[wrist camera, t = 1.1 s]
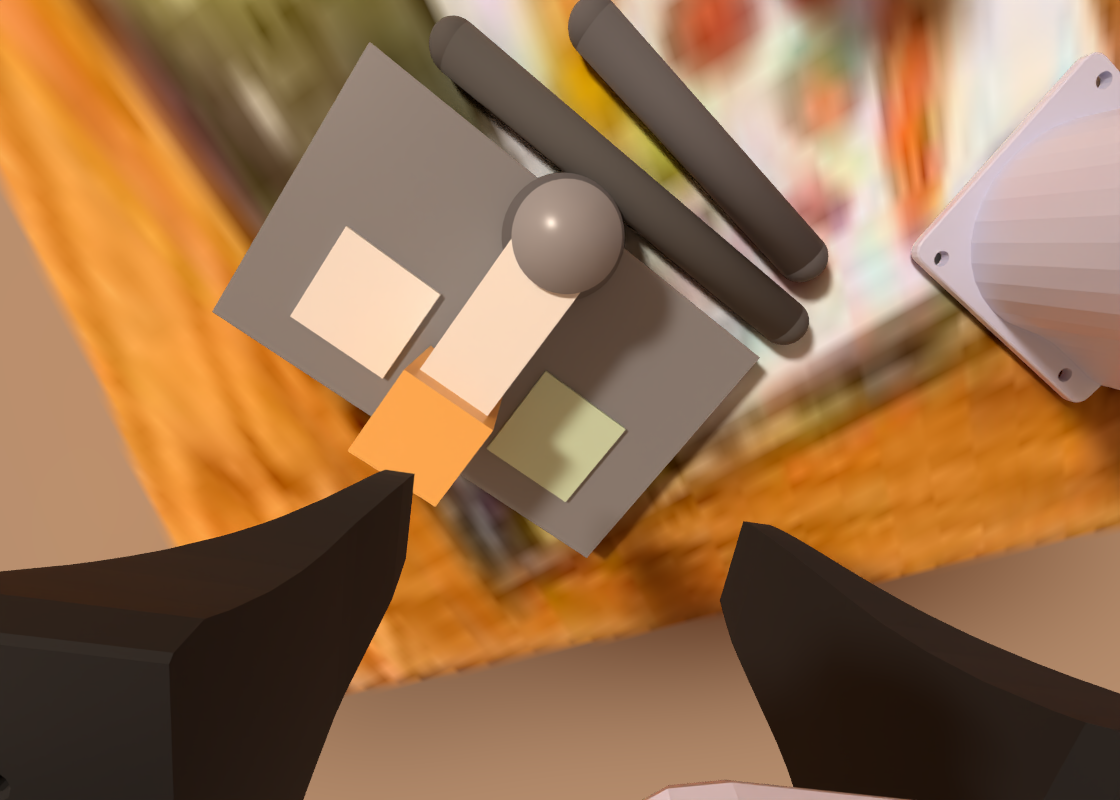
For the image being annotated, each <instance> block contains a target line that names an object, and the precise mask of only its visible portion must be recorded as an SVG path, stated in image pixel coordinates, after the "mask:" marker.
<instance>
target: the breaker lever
mask: <svg viewBox="0 0 1120 800" xmlns="http://www.w3.org/2000/svg"><path fill="white" fill-rule="evenodd" d="M621 245H622V228H621V222H620V219H619V216H618V213H617V211H616V209H615V207H614V205H613V204H612V202H611V201H610V200H609V198H608V197H607V196H606V195H605V194H604V193H603V192H602V191H601V190H599V189H598V188H596V187H595V186H593V185H591V184H589V183H587V182H584V181H581V180H576V179H558V180H553V181H550V182H547V183H545V184H543V185H541V186H539V187H538V188H536V189H535V190H533V191H532V192H531V193H530V194H529V195H528V196H527V197H526V198H525V199H524V201H523V202H522V203H521V205H520V207H519V208H518V211H517V213H516V215H515V218H514V221H513V226H512V239H511V240H510V241H509V243H508V244H507V246H506V247H505V248H504V250H503V251H502V253H501V254H500V256H499V257H498V258H497V260H496V261H495V263H494V264H493V266H492V267H491V268H490V270H489V271H488V273H487V274H486V276H485V277H484V278H483V280H482V281H481V283H480V284H479V286H478V287H477V288H476V290H475V291H474V293H473V294H472V296H471V297H470V298H469V300H468V301H467V303H466V304H465V305H464V307H463V308H462V310H461V311H460V313H459V314H458V315H457V317H456V318H455V320H454V321H453V323H452V324H451V325H450V327H449V328H448V330H447V331H446V333H445V334H444V335H443V337H442V338H441V340H440V341H439V343H438V344H437V345H436V347H435V348H433V347H432V346H430V347H429V348H427V349H426V350H425V351H424V352H423V353H422V354H421V355H420V356H419V357H417V358H416V359H415V360H414V361H413V362H412V363H411V364H410V365H408V366H407V367H406V368H405V369H404V370H403V372H402V373H401V375H400V376H399V377H398V379H397V380H396V382H395V383H394V385H393V386H392V388H391V389H390V390H389V392H388V393H387V395H386V396H385V398H384V399H383V401H382V402H381V403H380V405H379V406H378V408H377V409H376V411H375V412H374V413H373V415H372V416H371V418H370V419H369V421H368V422H367V424H366V425H365V426H364V428H363V429H362V431H361V432H360V434H359V435H358V437H357V438H356V439H355V441H354V442H353V444H352V445H351V447H350V448H349V450H348V452H350V453H352V454H353V455H355V456H356V457H358V458H359V459H361V460H363V461H364V462H366V463H367V464H369V465H370V466H372V467H374V468H375V469H377V470H378V471H383V470H392V471H399V472H406V473H413V474H415V476H414V485H413V493H414V494H416V495H418V496H419V497H421V498H422V499H424V500H425V501H427V502H429V503H430V504H432V505H433V506H436V505H437V504H438V502H439V501H440V500H441V498H442V497H443V496H444V494H445V493H446V492H447V491H448V489H449V488H450V487H451V485H452V484H453V483H454V481H455V480H456V479H457V477H458V476H459V475H460V473H461V472H462V471H463V470H464V468H465V467H466V466H467V464H468V463H469V462H470V460H471V459H472V458H473V456H474V455H475V454H476V452H477V451H478V450H479V448H480V447H481V446H482V445H483V443H484V442H485V441H486V439H487V438H488V437H489V435H490V434H491V433H492V431H493V429H494V426H495V422H496V419H497V415H498V411H499V408H500V404H501V400H502V397H503V395H504V393H505V392H506V391H507V389H508V388H509V387H510V385H511V384H512V383H513V381H514V380H515V379H516V377H517V376H518V375H519V373H520V372H521V371H522V369H523V368H524V367H525V365H526V364H527V363H528V361H529V360H530V359H531V357H532V356H533V355H534V353H535V352H536V351H537V349H538V348H539V347H540V345H541V344H542V343H543V342H544V340H545V339H546V338H547V336H548V335H549V334H550V332H551V331H552V330H553V328H554V327H555V326H556V324H557V323H558V322H559V320H560V319H561V318H562V316H563V315H564V314H565V312H566V311H567V310H568V308H569V307H570V306H571V304H572V303H573V302H574V300H575V299H576V298H577V296H578V295H579V294H580V292H583V291H586V290H589V289H591V288H592V287H594V286H596V285H597V284H599V283H600V282H601V281H602V280H603V279H605V278H606V276H607V275H608V274H609V273H610V272H611V270H612V269H613V267H614V266H615V264H616V261H617V259H618V257H619V254H620V250H621Z"/></svg>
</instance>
